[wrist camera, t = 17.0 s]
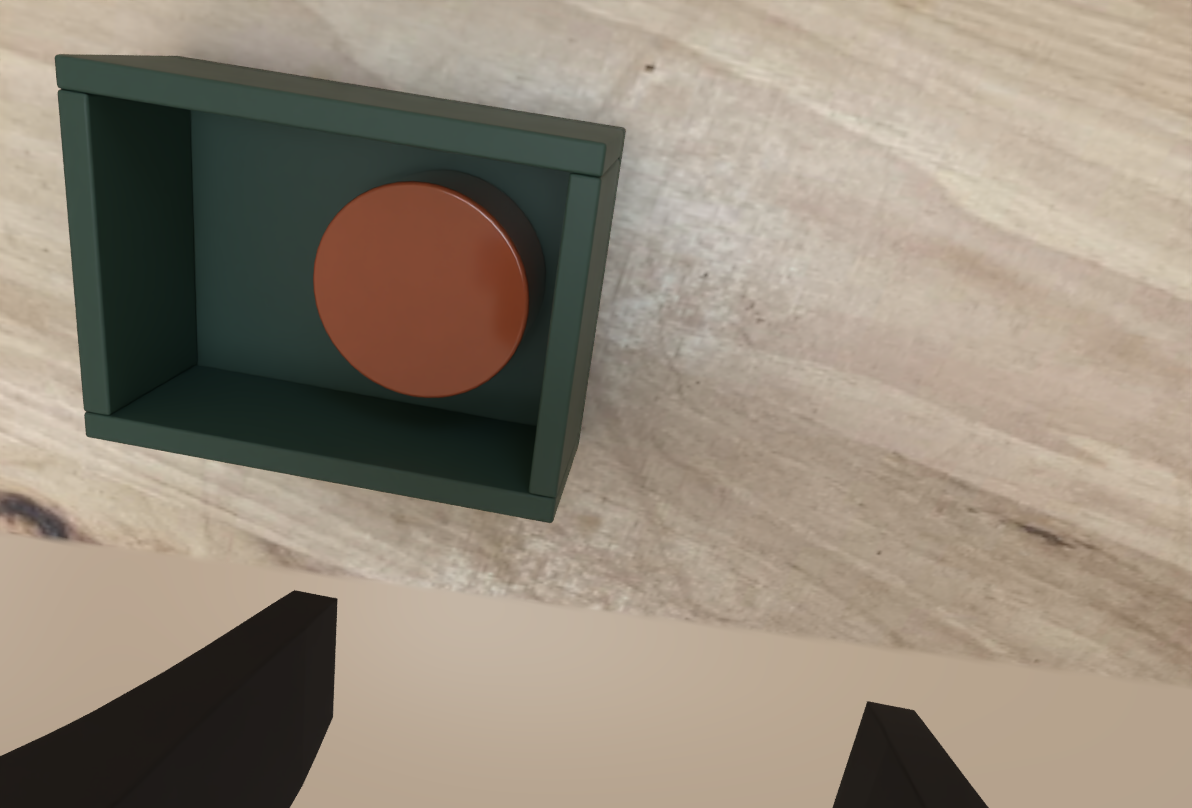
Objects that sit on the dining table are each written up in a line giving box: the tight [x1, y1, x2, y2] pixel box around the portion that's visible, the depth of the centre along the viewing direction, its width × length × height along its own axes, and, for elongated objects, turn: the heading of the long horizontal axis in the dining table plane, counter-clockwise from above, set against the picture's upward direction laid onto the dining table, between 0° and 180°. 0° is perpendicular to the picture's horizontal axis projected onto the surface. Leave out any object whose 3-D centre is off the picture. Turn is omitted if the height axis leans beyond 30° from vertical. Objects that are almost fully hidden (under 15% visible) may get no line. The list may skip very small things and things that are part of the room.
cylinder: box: [313, 170, 546, 398], centre depth 19 cm, size 5×5×2 cm
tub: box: [55, 54, 626, 523], centre depth 19 cm, size 8×10×4 cm
